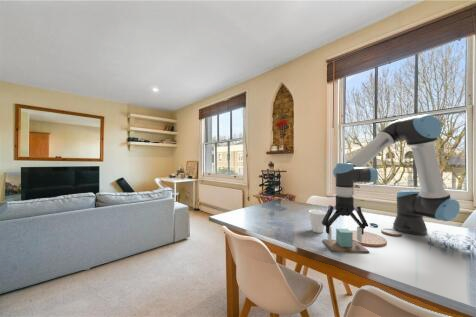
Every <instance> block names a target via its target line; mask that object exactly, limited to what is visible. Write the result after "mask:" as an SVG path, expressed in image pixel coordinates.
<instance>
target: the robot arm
mask: <svg viewBox="0 0 476 317" xmlns="http://www.w3.org/2000/svg"><path fill="white" fill-rule="evenodd" d="M442 130H443V126H442V122H441V121H440V119H438V118H437V117H436V116H434V115H431V114H422V115H420V114H419V115H416V116H411V117H410V116H409V117H406V118H402V119H401V118H400V119H397V120H395V121H392V122H391V123H389V124H388V125H386V126H385V127H384V128H381V130H380V131H379V132H377V133H376V135H375V137H374V138H373V139H371V141H369V142H368V143H367V144H366V145H365V146H363V147H362V148H361V149H360V150H358V152H357V153H355V154H354V155H353V156H352V157H351V158H349V159H348V160H347V161H346V162H337V163H336V165H335V167H334V168H333V171H332V173H333V176H334V178H335V194H336V195H335V205H331V204H329V205H328V208H327V211H326V212H327V213H326V215H325V217H324V219H323V221H322V224H323V225H324V227H325V233H326V234H327V240H329V241H331V240H332V224H333V223H335V221H336V220H337V219H338V218H340V216H342V217H344V216H346V217H349V216H350V217H351V218H352V219H353V221H354V222H356V224H357V226H356V241H357V242H358V243H363V237H362V236H363V235H364V233H365V231H364V229H365V228H367V227H369V224H368V222H367V220H366V218H365V216H364V214H363V212H362V207H361V206H359V205H355V206H354V203H355V202H354V201H355V200H354V199H355V198H354V195H355V193H354V191H355V190H354V189H355V188H354V187H355V186H354V185H355V184H356V183H357V184H361V183H363V184H364V183H365V184H366V183H367V184H369V183H374V182H376V181H377V180H378V178H379V174H378V173H379V172H378V171H377V169H376V168H375V167H371V166H366V165H367V164H369V162H371V161H372V160H373V159H375V157H377V156H378V155H379V154H380V153H381V152H382V151H384V149H386V148H387V147H390V146H393V144H395V143H398V142H404V141H406V142H405V143H406V145H407V146H409V147H410V148H411V151H412V156H413V160H414V164H415V168H416V173H417V177H418V178H417V179H418V181H419V186H420V189H421V190H399V191H397V193H396V216H395V219H394V222H393V223H392V224H393V225H392V228H393V229H394V230H395V231H399V232H402V233H406V234H410V235H417V236H418V235H419V236H424V235H428V228H427V225H426V223H425V220H424V217H426V218H430V219H433V220H436V221H441V222H442V221H443V222H451V221H453V220H454V219H456V218H457V217H458V215H459V214H460V208H461V206H460V202H459V201H458V200H457V199H455V198H451V194H450V192H449V191H447V190H445V187H444V183H443V178H442V172H441V169H440V165H439V161H438V156H437V155H438V154H437V151H436V148H435V147H436V146H435V143H436V142H437V141H438V137H439V136H441V134H442ZM333 211H334V214H332V213H333ZM354 211H356V213H357V215H358V217H359V218H358V217H357V216H356V215H355V213H354Z"/></svg>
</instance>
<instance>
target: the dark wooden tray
mask: <svg viewBox="0 0 476 317" xmlns="http://www.w3.org/2000/svg"><path fill="white" fill-rule="evenodd" d="M321 242H323V243H324V244H325V246H326V247H327V248H328V249H329V251H330V252H332V253H350V254H351V253H355V254H370V250H368V249H367V248H366V247H365V246H363V245H362V244H361V243H360V242H359V241H358V240H357V239H356V240H353V247H341V246H340V245H339V244H338V243H337V242H336V239H331V241H329V240H328V238H327V239H325V238H324V239H322V241H321Z"/></svg>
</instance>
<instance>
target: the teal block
mask: <svg viewBox="0 0 476 317" xmlns="http://www.w3.org/2000/svg"><path fill="white" fill-rule="evenodd" d="M353 235H354V233H353V232H352V231H351V230H350V229H348V228H335V240H336V242H337V243H338V244H339V245H340V246H341V247H353V238H354V236H353Z"/></svg>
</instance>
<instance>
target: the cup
mask: <svg viewBox="0 0 476 317" xmlns="http://www.w3.org/2000/svg"><path fill="white" fill-rule="evenodd" d="M326 213H327V211H324V210H322V209H321V210H320V209H310V210H308V214H309V220H310V227H311V231H312V232H314V233H316V234H317V233H318V234H322V233H323V232H324V230H325V226H324V225H323V224H322V221H323V219H324V217H325V215H326Z"/></svg>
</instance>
